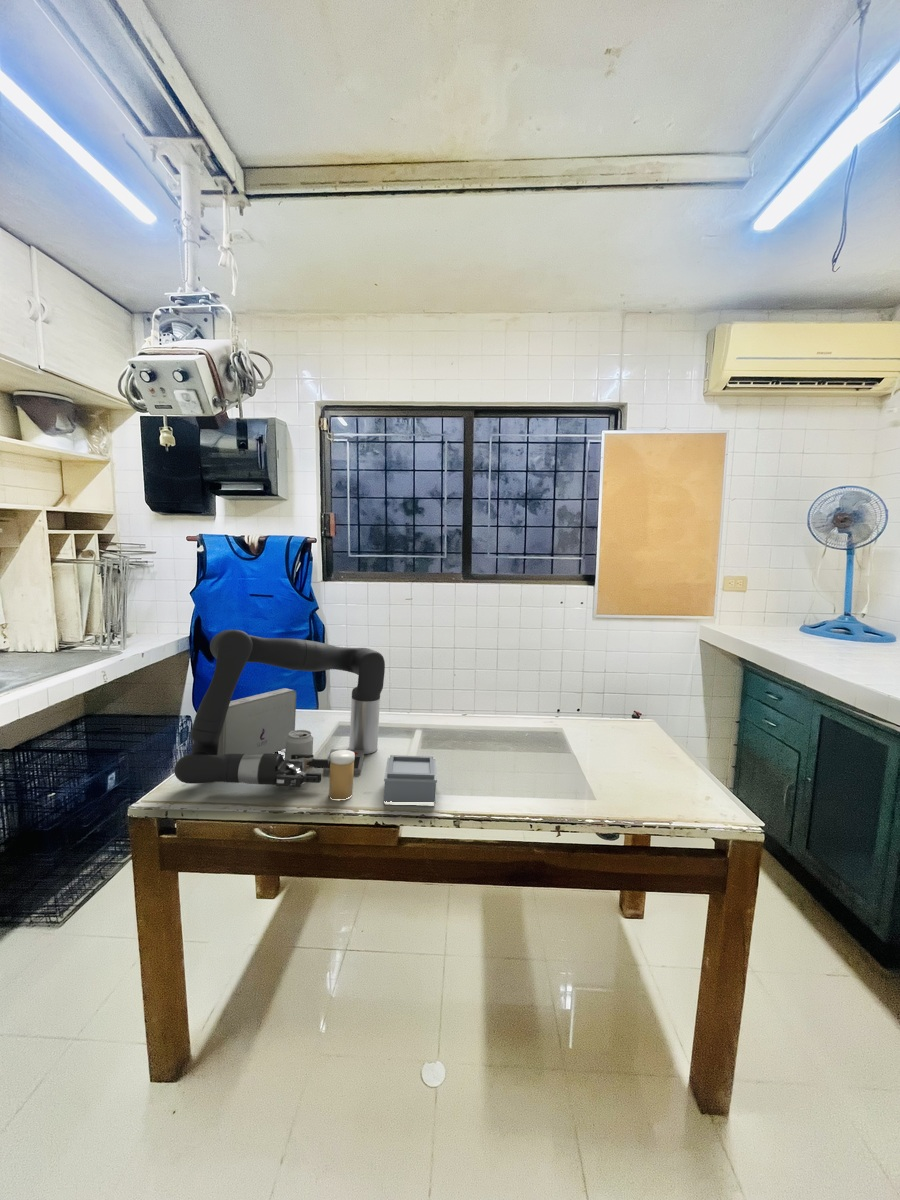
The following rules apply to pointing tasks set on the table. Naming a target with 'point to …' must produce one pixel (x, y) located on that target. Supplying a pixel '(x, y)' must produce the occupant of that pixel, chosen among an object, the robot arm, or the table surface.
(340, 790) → the glass of beer
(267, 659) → the robot arm
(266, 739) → the network device
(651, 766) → the table surface
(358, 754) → the electronic device
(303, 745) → the can
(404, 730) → the table surface
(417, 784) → the grey case
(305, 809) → the table surface
